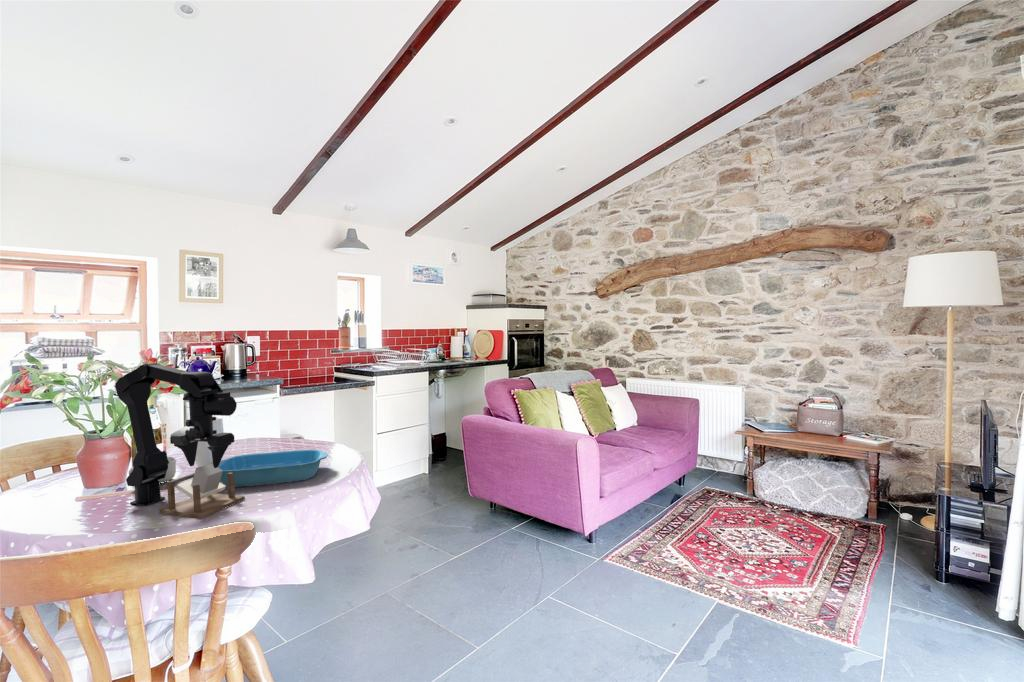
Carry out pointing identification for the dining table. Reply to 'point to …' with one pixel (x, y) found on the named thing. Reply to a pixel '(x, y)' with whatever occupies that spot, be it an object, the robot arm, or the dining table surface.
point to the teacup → (170, 470)
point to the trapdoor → (188, 490)
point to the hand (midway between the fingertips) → (203, 466)
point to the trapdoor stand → (199, 500)
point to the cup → (202, 448)
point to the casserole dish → (271, 467)
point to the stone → (207, 477)
